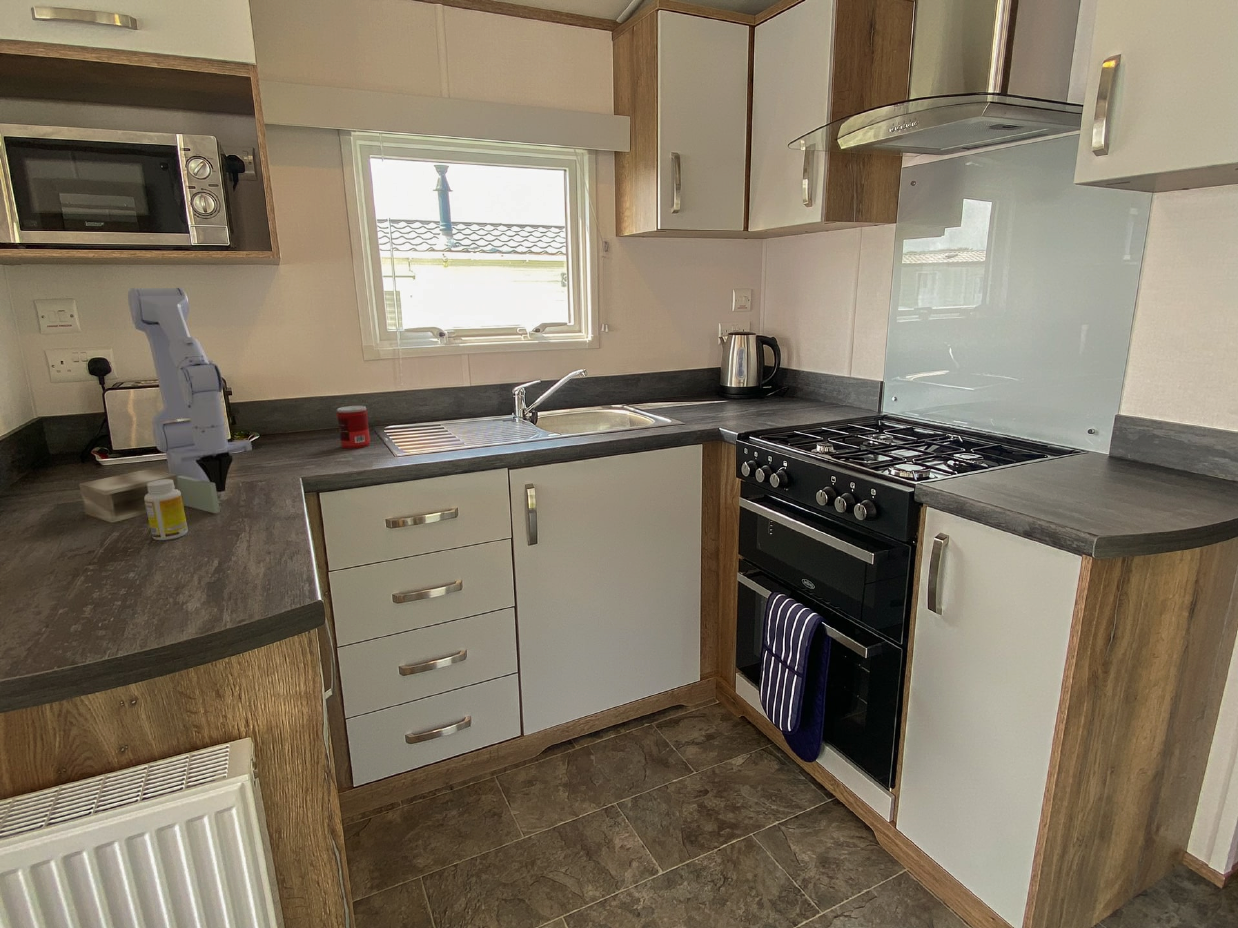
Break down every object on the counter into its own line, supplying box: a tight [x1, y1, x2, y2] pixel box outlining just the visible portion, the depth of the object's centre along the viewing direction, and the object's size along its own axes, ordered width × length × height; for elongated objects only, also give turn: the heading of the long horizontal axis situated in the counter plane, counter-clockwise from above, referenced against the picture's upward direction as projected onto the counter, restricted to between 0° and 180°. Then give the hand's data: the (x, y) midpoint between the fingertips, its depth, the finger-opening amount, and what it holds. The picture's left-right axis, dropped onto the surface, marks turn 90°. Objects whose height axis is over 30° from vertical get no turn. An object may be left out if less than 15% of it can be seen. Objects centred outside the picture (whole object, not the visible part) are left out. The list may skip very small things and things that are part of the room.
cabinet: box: [79, 468, 179, 523], centre depth 140 cm, size 13×11×6 cm
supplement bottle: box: [144, 479, 189, 541], centre depth 123 cm, size 6×6×10 cm
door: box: [177, 476, 222, 514], centre depth 139 cm, size 12×2×6 cm, turn 59°
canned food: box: [336, 405, 371, 450], centre depth 194 cm, size 8×8×11 cm
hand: (219, 491), depth 140 cm, fingers closed
